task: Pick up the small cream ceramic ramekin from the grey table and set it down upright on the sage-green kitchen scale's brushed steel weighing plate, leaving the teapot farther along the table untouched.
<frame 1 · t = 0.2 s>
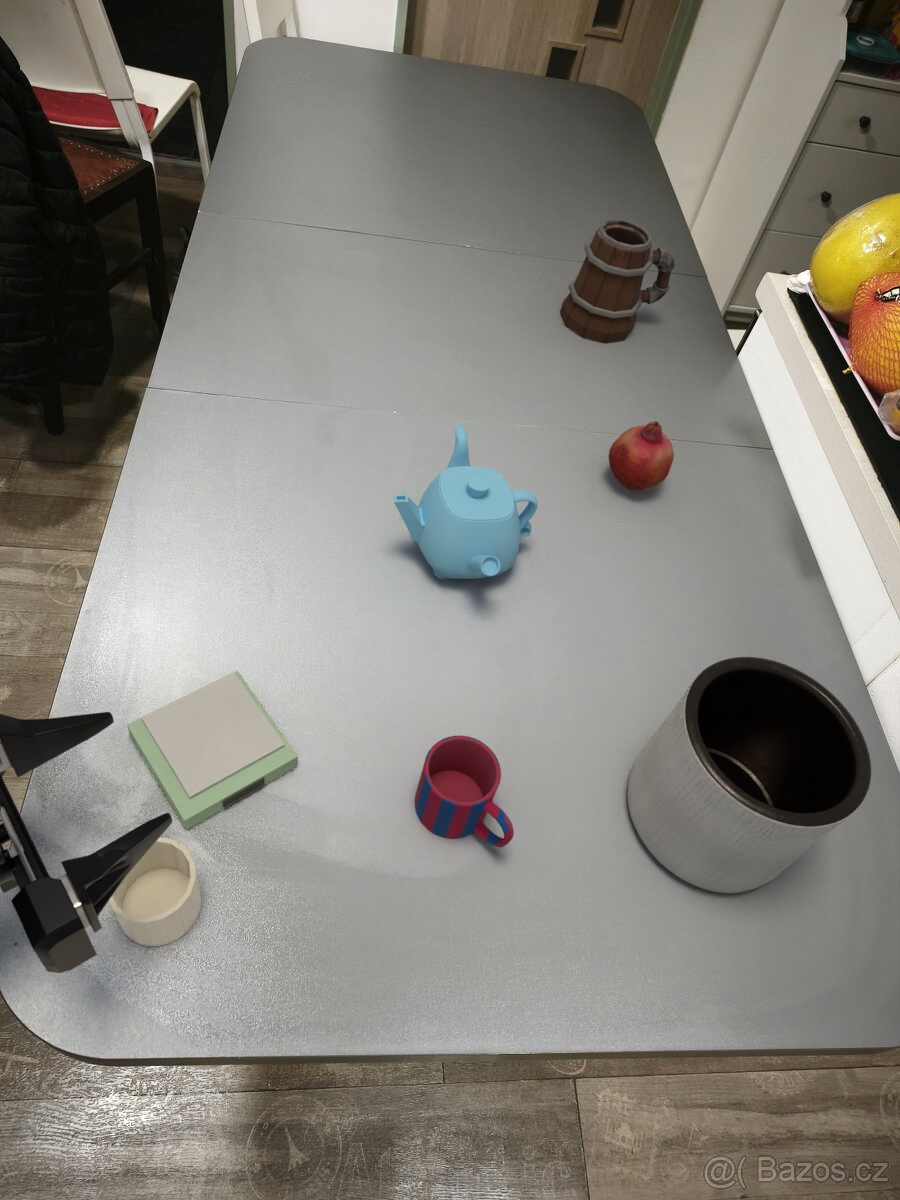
hand: (140, 765, 57), 15 cm above the table, tool horizontal, fingers open, 9 cm apart
ramekin: (160, 904, 66), on the table
mug: (607, 323, 132), on the table
fruit: (629, 484, 108), on the table
teapot: (456, 553, 95), on the table
planter: (703, 815, 79), on the table
cup: (460, 819, 74), on the table
scale: (214, 751, 75), on the table
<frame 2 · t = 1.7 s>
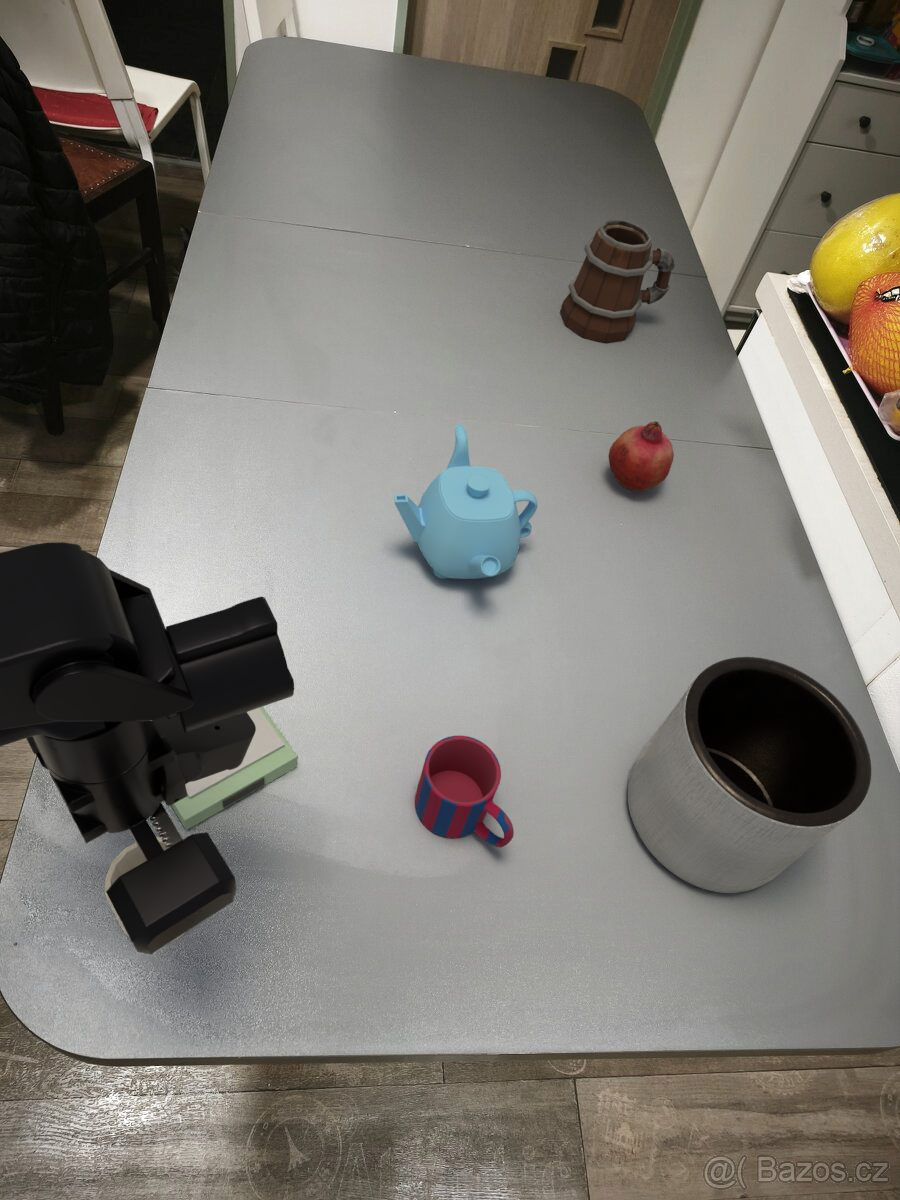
hand: (138, 847, 56), 12 cm above the table, tool pointing down, fingers open, 9 cm apart
nothing on the table moved.
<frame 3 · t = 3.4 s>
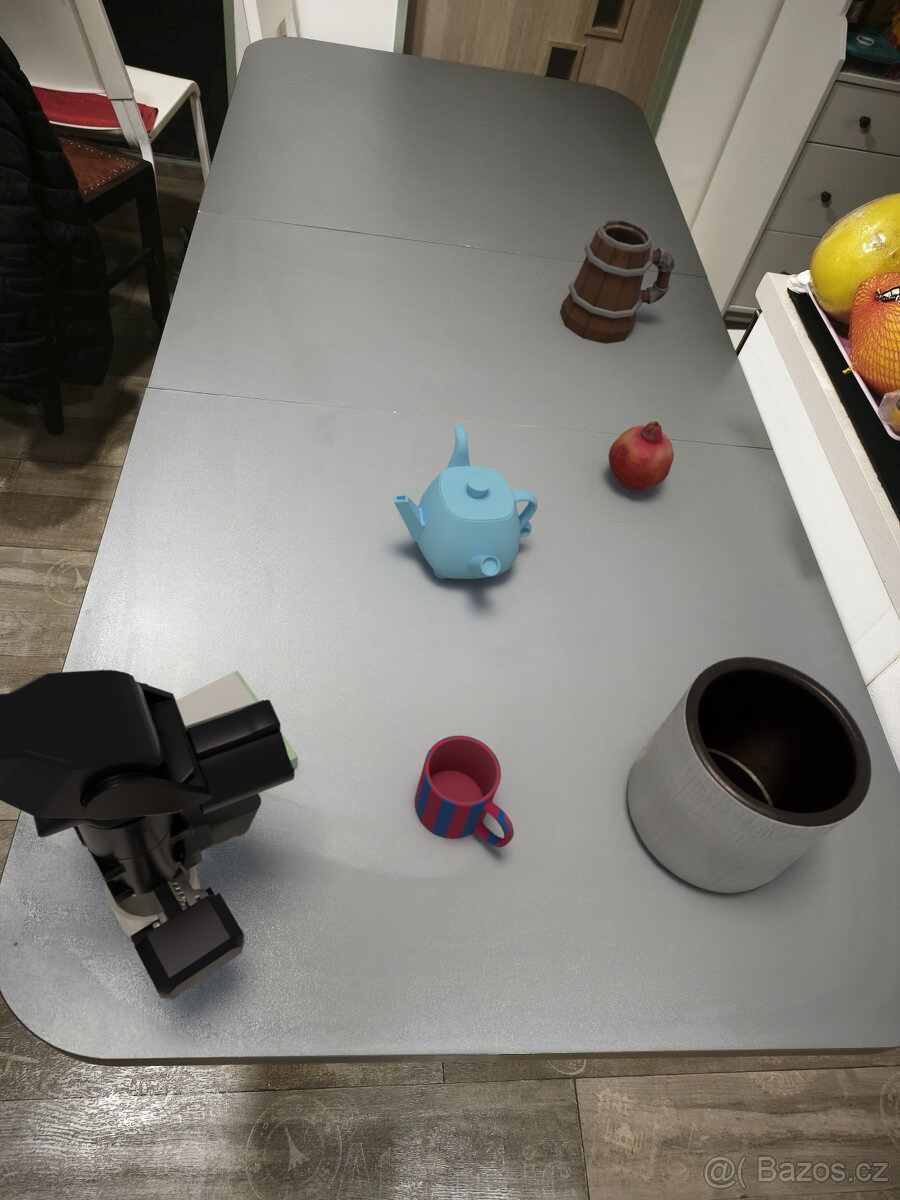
hand: (158, 898, 64), 2 cm above the table, tool pointing down, fingers closed on ramekin, 6 cm apart
ramekin: (160, 904, 66), on the table, touching gripper
everything else where it was.
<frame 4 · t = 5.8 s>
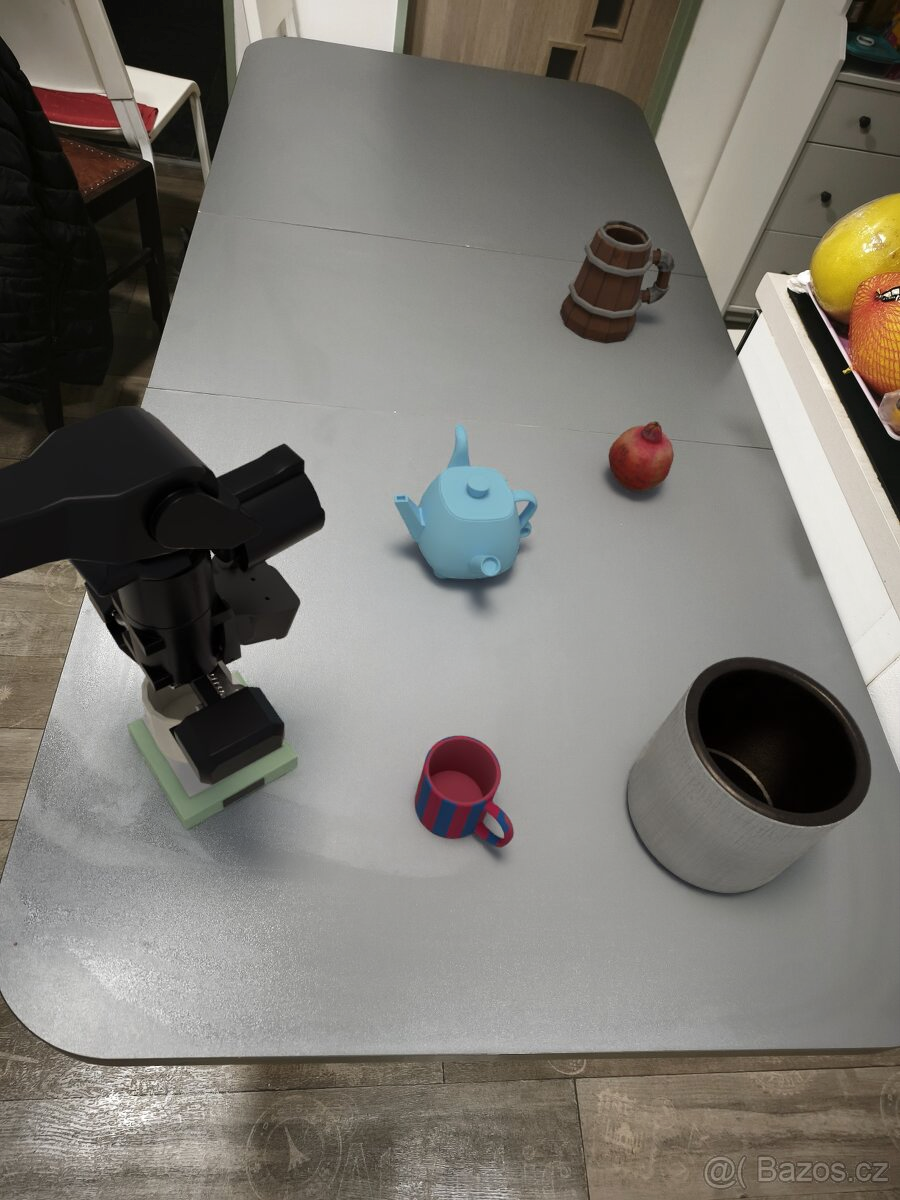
hand: (193, 717, 63), 12 cm above the table, tool pointing down, fingers closed on ramekin, 6 cm apart
ramekin: (195, 726, 65), point 10 cm above the table, touching gripper
everything else where it was.
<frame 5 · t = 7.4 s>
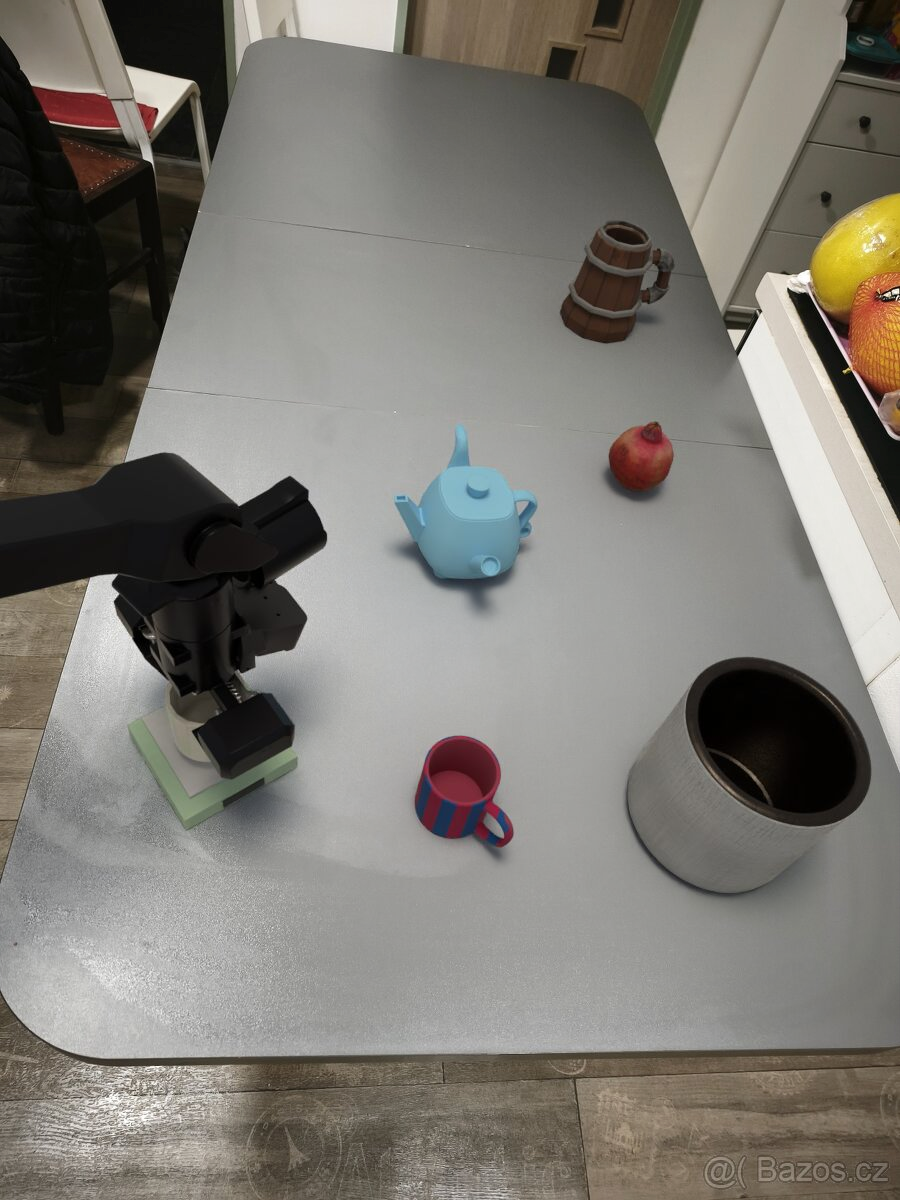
hand: (209, 721, 70), 5 cm above the table, tool pointing down, fingers closed on ramekin, 6 cm apart
ramekin: (210, 729, 72), point 4 cm above the table, touching gripper
everything else where it was.
when the fingers open (4 cm above the table, at t = 8.4 s): ramekin stays where it is, resting on scale.
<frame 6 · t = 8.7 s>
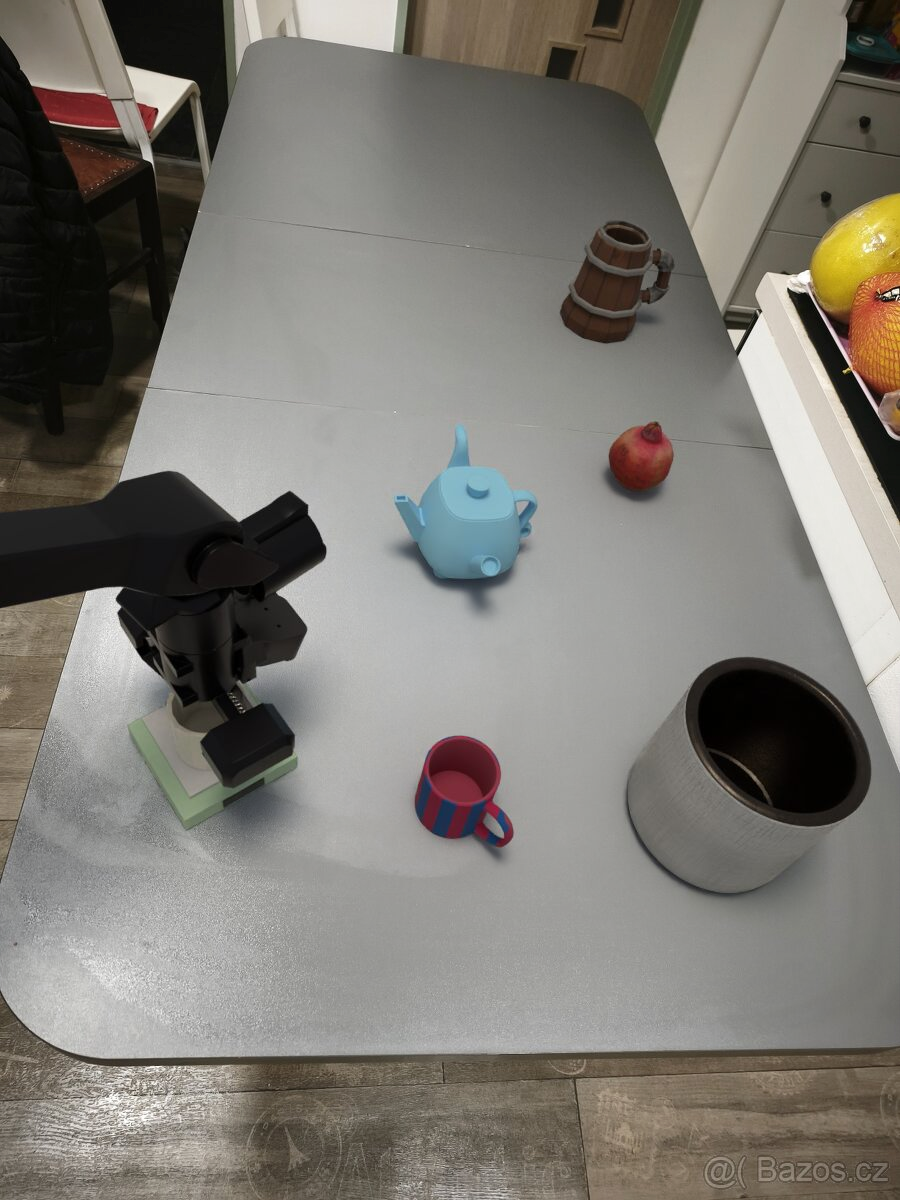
hand: (211, 729, 72), 4 cm above the table, tool pointing down, fingers open, 9 cm apart
ramekin: (212, 738, 73), point 2 cm above the table, touching scale
everything else where it was.
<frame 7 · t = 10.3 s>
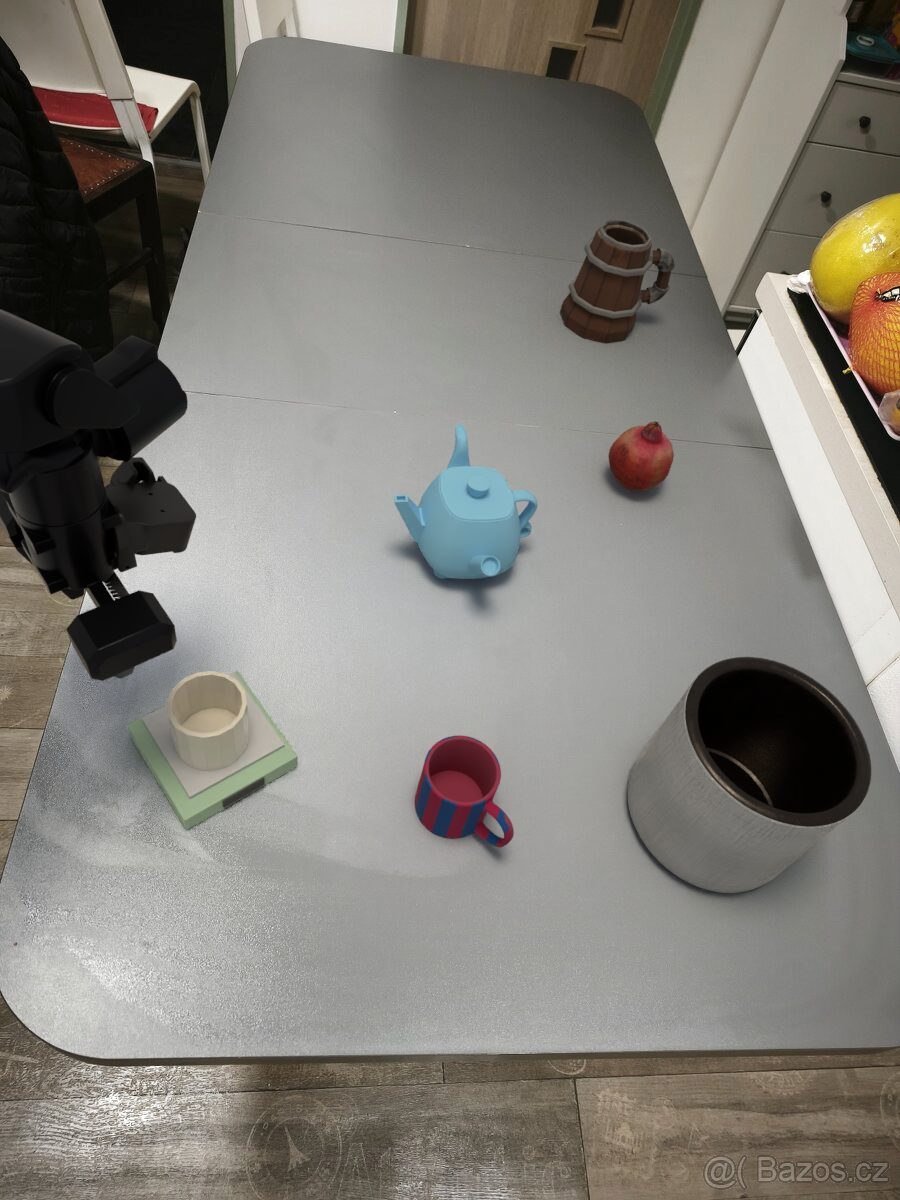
hand: (100, 634, 66), 12 cm above the table, tool pointing down, fingers open, 9 cm apart
nothing on the table moved.
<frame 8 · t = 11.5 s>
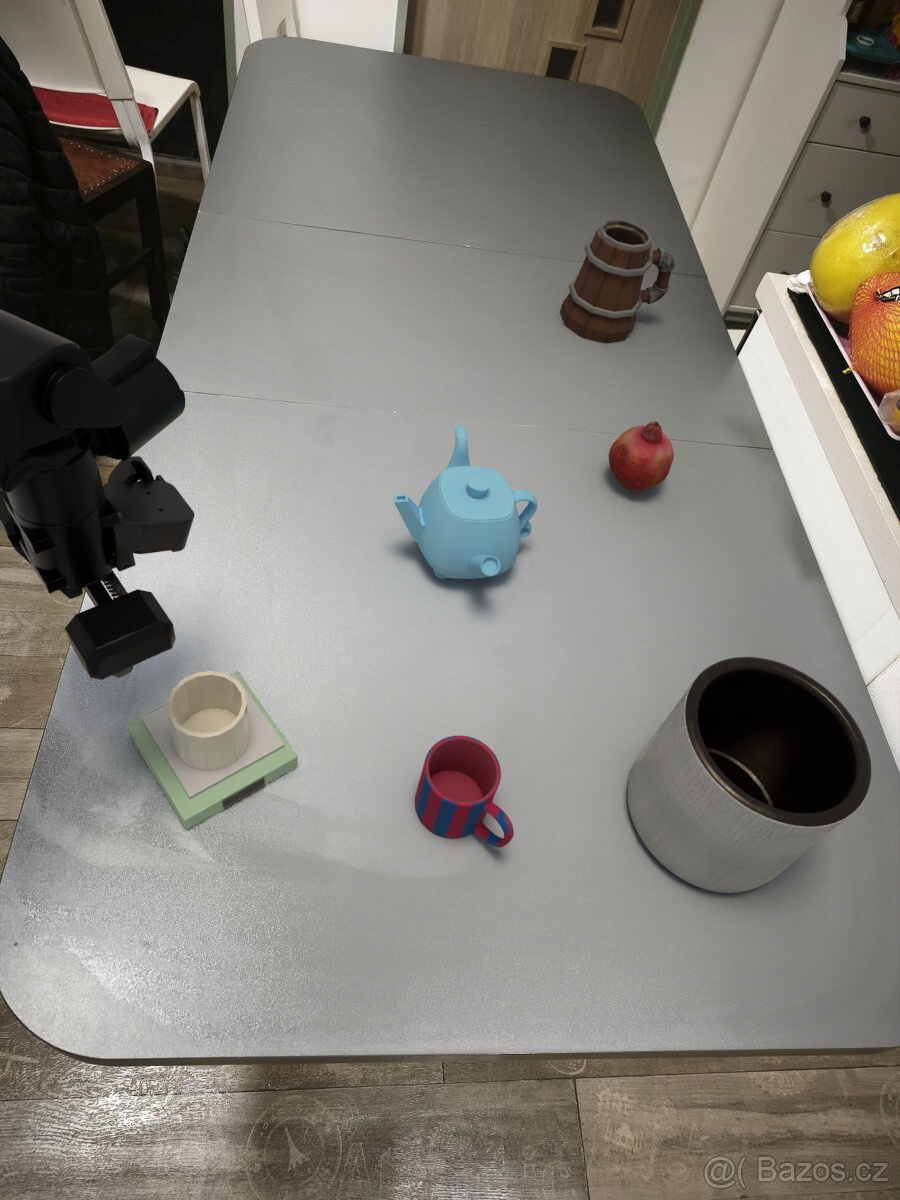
hand: (99, 633, 66), 12 cm above the table, tool pointing down, fingers open, 9 cm apart
nothing on the table moved.
at the end: ramekin inside the target area on the scale (0.6 cm from its centre), point 2.4 cm above the scale's base; ramekin tilted 0°; teapot moved 0.2 cm from its start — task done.
